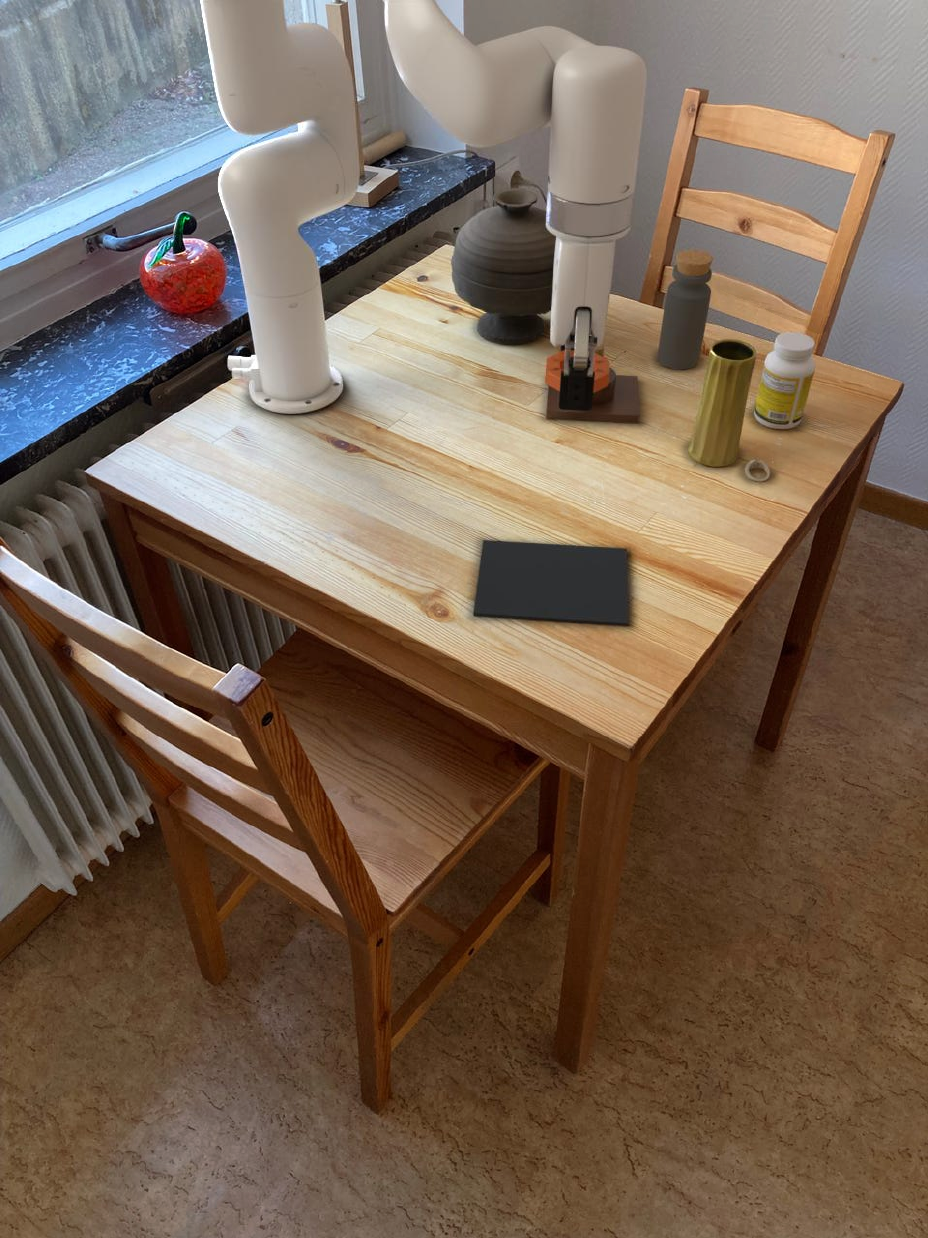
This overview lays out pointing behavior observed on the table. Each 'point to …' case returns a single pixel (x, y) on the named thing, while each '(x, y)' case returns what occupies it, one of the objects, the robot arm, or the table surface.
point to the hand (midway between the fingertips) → (575, 388)
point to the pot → (507, 267)
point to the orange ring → (557, 364)
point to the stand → (603, 400)
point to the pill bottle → (785, 381)
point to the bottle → (686, 311)
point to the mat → (553, 583)
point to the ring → (757, 465)
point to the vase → (722, 403)
